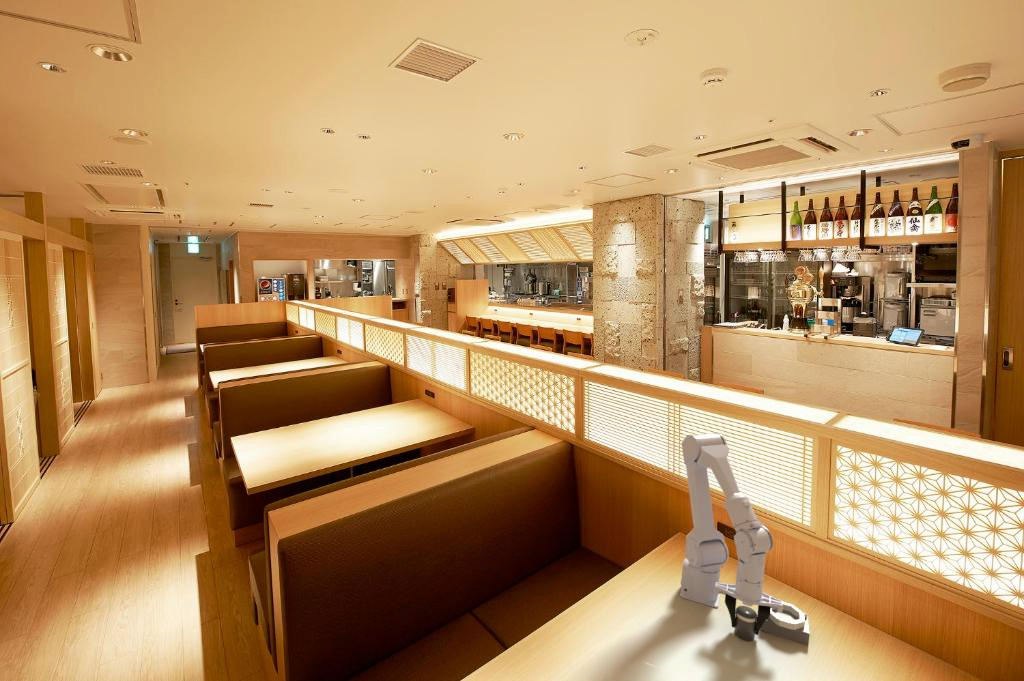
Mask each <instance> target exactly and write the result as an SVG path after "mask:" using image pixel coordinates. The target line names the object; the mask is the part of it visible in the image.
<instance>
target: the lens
mask: <svg viewBox="0 0 1024 681" xmlns="http://www.w3.org/2000/svg"><path fill="white" fill-rule="evenodd" d="M757 615H758V613H757V612H756V611H755V610H754V609H753V608H752V607H751V606H747V605H739V606H738V605H737V606H736V619H735V628H734V635H735V636H736V637H737V638H738V639H740V640H741V641H743V642H753V641H754V640H755V638H756V634H755V628H756V620H757Z"/></svg>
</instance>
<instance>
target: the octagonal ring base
mask: <svg viewBox="0 0 1024 681" xmlns="http://www.w3.org/2000/svg"><path fill="white" fill-rule="evenodd" d="M760 632H765V633H768V634H771V635H774V636H778V637H781V638H784V639H786V640H787V639H788V640H790V641H793V642H797V643H800V644H803V645H806V646H809V643H810V626H809V615H808V613H807V612H805V611H802V610H800V609H799V608H798V607H797V606H795V605H794V604H792V603H788V602H785V601H783V611H782V613H780V612H777V610H776V609H772V608H771V610H770V616H769V618H768V619H767V620H766V621H765V622H764V623H763V625H762V627H761V629H760Z"/></svg>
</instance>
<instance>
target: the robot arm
mask: <svg viewBox="0 0 1024 681" xmlns="http://www.w3.org/2000/svg"><path fill="white" fill-rule="evenodd" d="M681 448H682V456H683V463H684V465H685V469H686V477H687V485H688V492H689V493H688V494H689V500H690V507H691V516H692V523H693V528H692V530H690V532H689V533H688V534H687V535H686V536H685V541H686V542H685V549H684V550H685V551H684V552H685V556H686V558H684V559H683V564H682V569H681V577H680V578H681V579H680V594H679V596H680V598H683V599H686V600H689V601H692V602H696V603H699V604H702V605H706V606H709V607H711V608H715V609H718V608H719V604H720V596H721V595H724V604H725V606H726V608H727V610H728V615H729V617H730V623H731V627H732V628H734V629H735V619H736V608H737V600H738V601H741V602H742V604H743V606H747V607H753V605H754V606H757V620H756V628H755V636H759V633H760V632H761V627H762V625H763V623H764V622H765V621H766V620H767V619H768V618H769V616H770V610H771V608H772V609H776V610H777V612H780V613H782V611H783V602H784V600H781V599H778V598H775V597H773V596H771V595H769V594H768V593H765V592H763V587H764V579H765V576H764V575H765V568H766V567H765V566H766V558H767V557H766V556H767V552H770V551H772V549H773V547H774V540H773V536H772V532H771V531H770V530H769V529H768V528H767V527H766V526H765V525H764V524H763V522H761V521H759V519H758V517H757V515H756V513H755V510H754V509H753V507H752V504H751V502H750V500H749V497H748V496H746V495H744V494H742V493H741V492H740V490H739V486H738V484H737V481H736V479H735V474H734V473H733V470H732V467H731V465H730V462H729V459H728V455H729V453H730V452H729V450H730V448H729V446H728V444H727V440H726V439H725V437H724V435H722V434H721V432H712V433H705V434H704V433H702V434H687V435H686V436H685V437H684V438H683V439H682V442H681ZM708 468H709V469H710V470H711V471H712V473H713V475H714V477H715V480H716V481H717V483H718V485H719V487H720V489H721V490H722V492H723V494H724V496H725V500H724V502H723V503H724V505H723V506H724V507H725V510H726V512H727V515H728V517H729V519H730V521H731V523H732V526H733V529H734V531H735V532H736V533H735V535H733V541H734V545H735V547H736V556H737V564H736V565H737V566H736V576H735V584H732V583H722V582H720V576H721V575H720V574H721V569H722V568H724V564H725V563H727V562H728V560H729V558H730V556H729V554H730V552H729V549H728V546H727V543H726V541H725V536H724V534H723V533H721V532H720V531H718V530H717V529H716V525H715V518H714V511H713V504H712V497H711V496H712V495H711V491H710V490H711V489H710V481H709V476H708Z"/></svg>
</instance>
